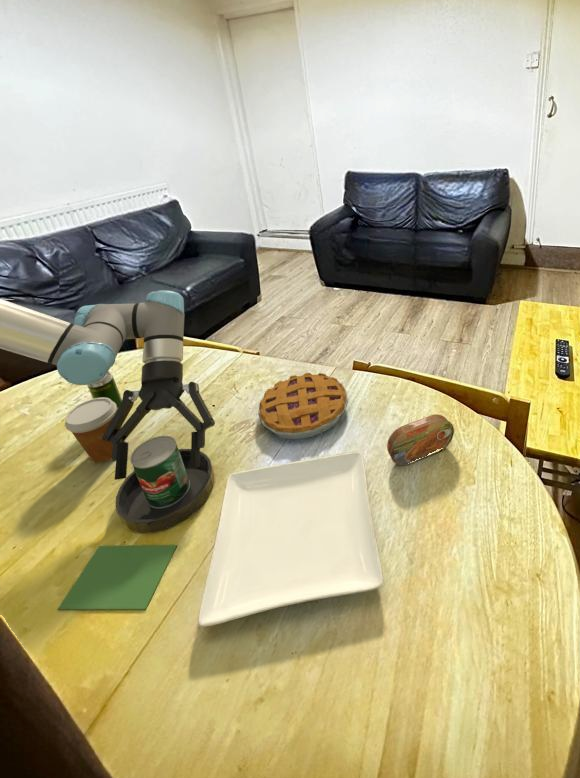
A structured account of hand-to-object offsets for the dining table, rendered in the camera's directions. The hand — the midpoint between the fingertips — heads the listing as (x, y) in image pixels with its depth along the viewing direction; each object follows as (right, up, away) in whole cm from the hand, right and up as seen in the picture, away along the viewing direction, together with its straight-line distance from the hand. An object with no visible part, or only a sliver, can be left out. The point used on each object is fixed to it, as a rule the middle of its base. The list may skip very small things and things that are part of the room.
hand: (158, 473), depth 79 cm
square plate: (+28, -9, -5) cm, 30 cm away
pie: (+24, +4, +24) cm, 34 cm away
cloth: (0, -12, -11) cm, 16 cm away
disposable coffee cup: (-20, -2, +15) cm, 25 cm away
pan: (0, -6, +4) cm, 7 cm away
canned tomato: (0, -6, +4) cm, 7 cm away
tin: (+51, -1, +10) cm, 52 cm away
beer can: (-25, +3, +26) cm, 37 cm away
